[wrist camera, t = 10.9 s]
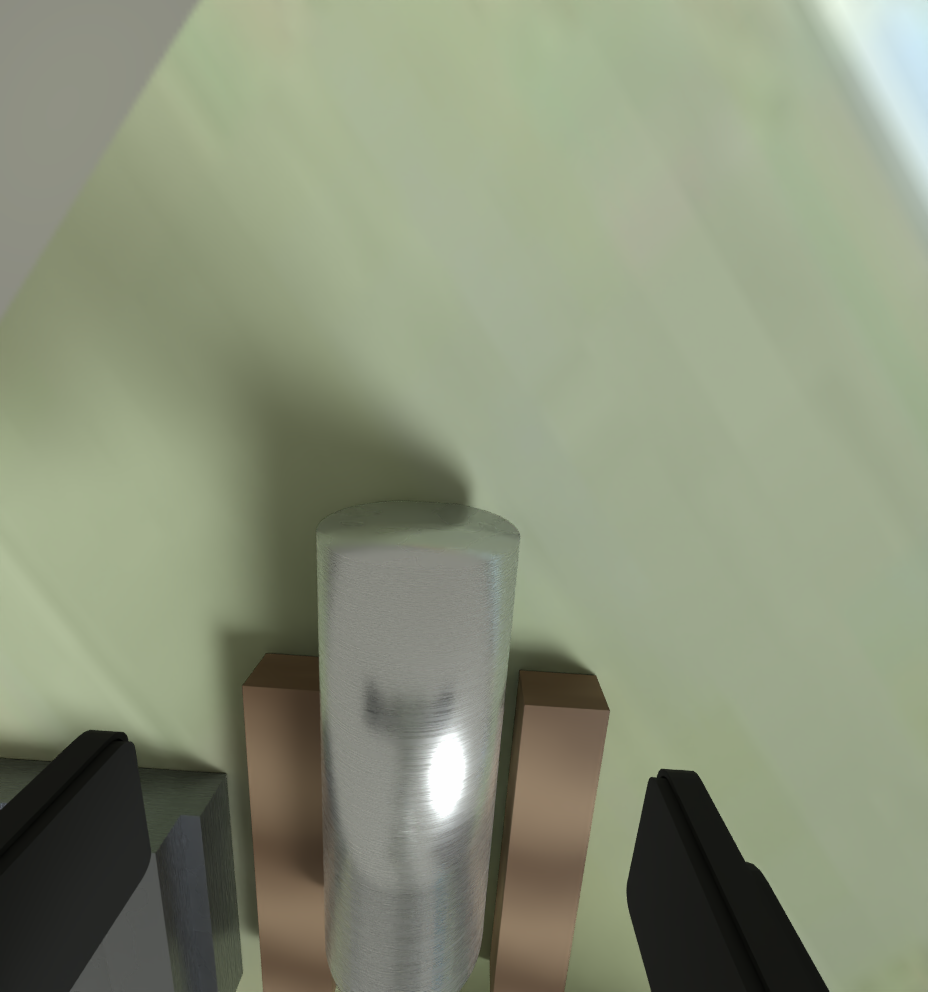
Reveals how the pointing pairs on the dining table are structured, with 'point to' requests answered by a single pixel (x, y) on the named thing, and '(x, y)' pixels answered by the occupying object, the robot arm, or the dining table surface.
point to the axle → (410, 735)
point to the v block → (168, 890)
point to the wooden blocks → (525, 842)
